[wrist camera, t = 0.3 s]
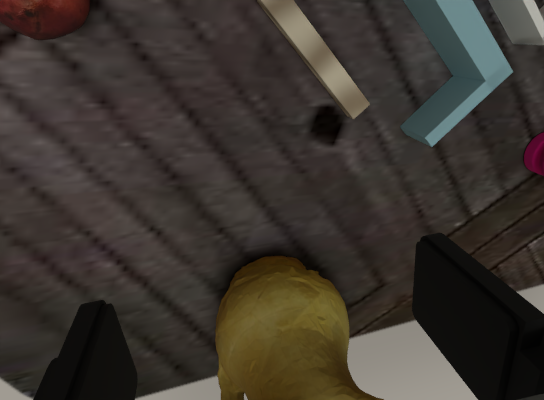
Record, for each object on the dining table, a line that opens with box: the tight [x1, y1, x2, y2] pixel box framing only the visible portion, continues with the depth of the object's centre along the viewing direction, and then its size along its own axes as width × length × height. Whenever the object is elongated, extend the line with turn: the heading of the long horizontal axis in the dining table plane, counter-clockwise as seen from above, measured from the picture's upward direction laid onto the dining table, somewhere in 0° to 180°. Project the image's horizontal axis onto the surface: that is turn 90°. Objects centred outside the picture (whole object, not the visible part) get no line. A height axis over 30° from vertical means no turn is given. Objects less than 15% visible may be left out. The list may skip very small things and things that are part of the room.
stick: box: [256, 0, 370, 119], centre depth 43 cm, size 18×3×3 cm, turn 42°
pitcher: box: [215, 255, 384, 400], centre depth 45 cm, size 17×19×25 cm
